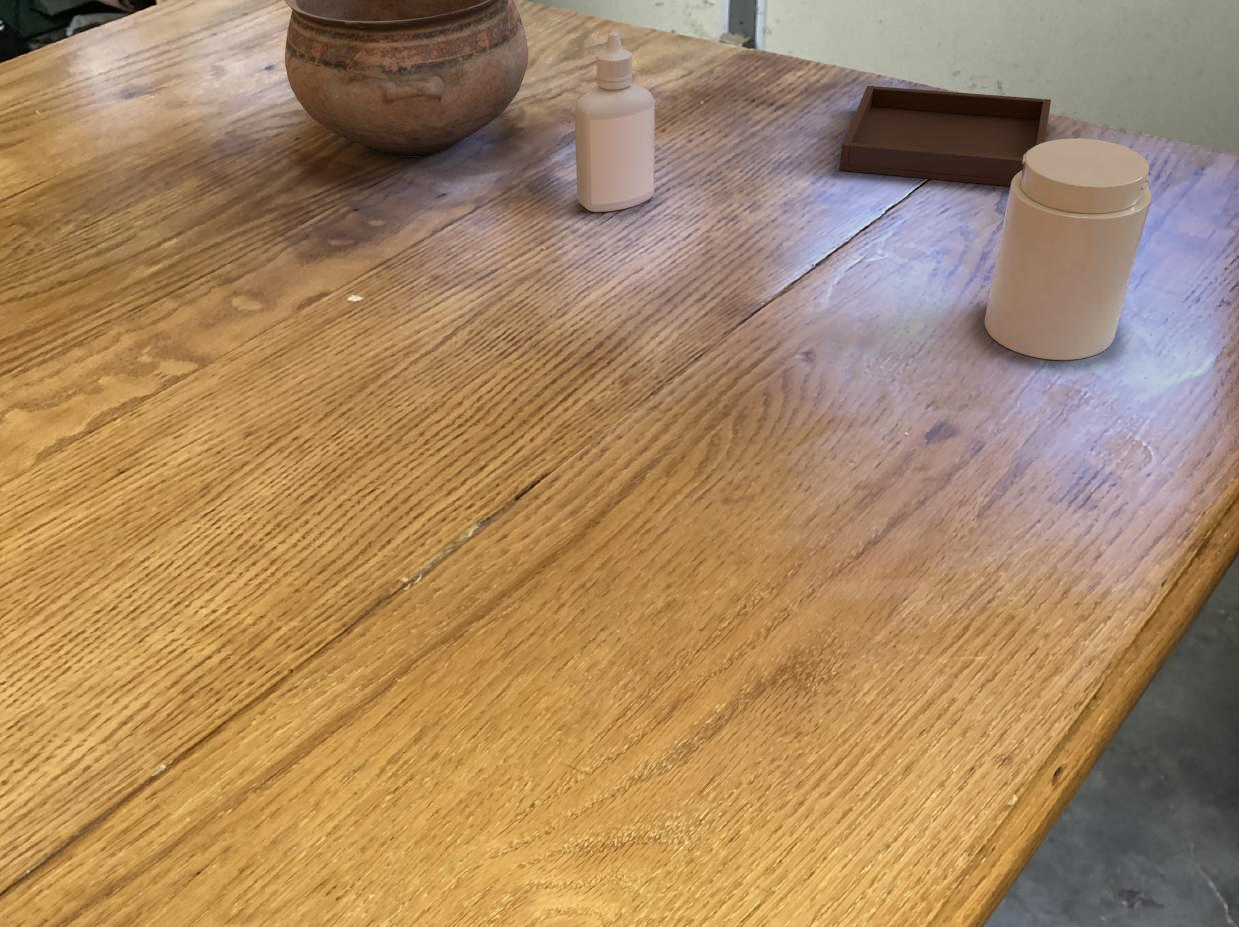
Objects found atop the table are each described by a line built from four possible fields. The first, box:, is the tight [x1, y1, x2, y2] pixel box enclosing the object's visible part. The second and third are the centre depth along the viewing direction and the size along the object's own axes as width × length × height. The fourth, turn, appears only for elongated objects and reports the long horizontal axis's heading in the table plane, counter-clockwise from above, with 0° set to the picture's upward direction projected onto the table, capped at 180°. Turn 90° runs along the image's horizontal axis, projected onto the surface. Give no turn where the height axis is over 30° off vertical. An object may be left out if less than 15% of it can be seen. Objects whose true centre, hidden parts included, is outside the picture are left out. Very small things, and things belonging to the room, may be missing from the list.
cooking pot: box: [283, 0, 529, 158], centre depth 103 cm, size 25×19×12 cm
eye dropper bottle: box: [574, 31, 656, 213], centre depth 93 cm, size 4×6×12 cm
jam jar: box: [984, 137, 1153, 361], centre depth 77 cm, size 8×8×11 cm
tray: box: [839, 85, 1052, 187], centre depth 101 cm, size 14×12×2 cm
